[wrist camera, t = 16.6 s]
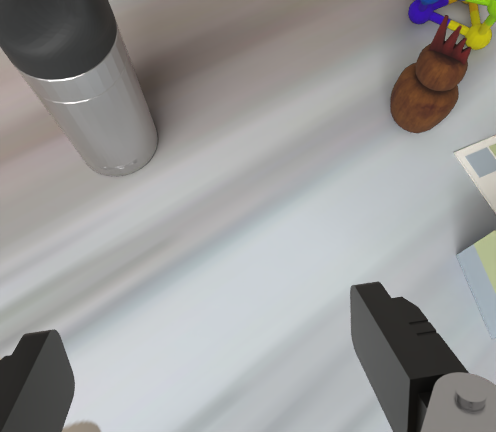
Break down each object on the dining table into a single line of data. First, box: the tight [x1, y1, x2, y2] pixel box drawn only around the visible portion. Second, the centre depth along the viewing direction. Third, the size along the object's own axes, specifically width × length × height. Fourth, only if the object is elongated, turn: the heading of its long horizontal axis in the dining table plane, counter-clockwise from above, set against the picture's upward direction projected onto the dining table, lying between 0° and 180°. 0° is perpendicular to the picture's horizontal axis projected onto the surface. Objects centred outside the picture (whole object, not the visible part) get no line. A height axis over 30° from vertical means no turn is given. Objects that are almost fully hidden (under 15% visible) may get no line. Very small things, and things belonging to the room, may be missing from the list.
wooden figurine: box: [391, 15, 471, 133], centre depth 47 cm, size 7×6×15 cm
